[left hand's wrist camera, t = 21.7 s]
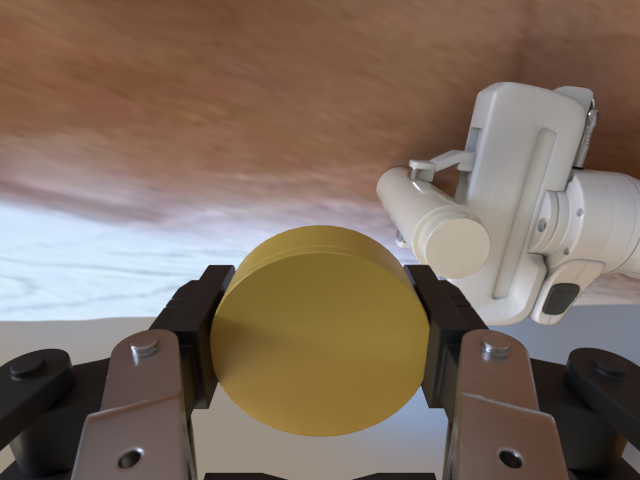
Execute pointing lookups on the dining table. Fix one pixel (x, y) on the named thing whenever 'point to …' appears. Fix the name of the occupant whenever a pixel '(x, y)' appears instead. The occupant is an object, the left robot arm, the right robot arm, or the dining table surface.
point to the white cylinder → (434, 225)
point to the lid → (320, 333)
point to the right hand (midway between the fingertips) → (403, 204)
